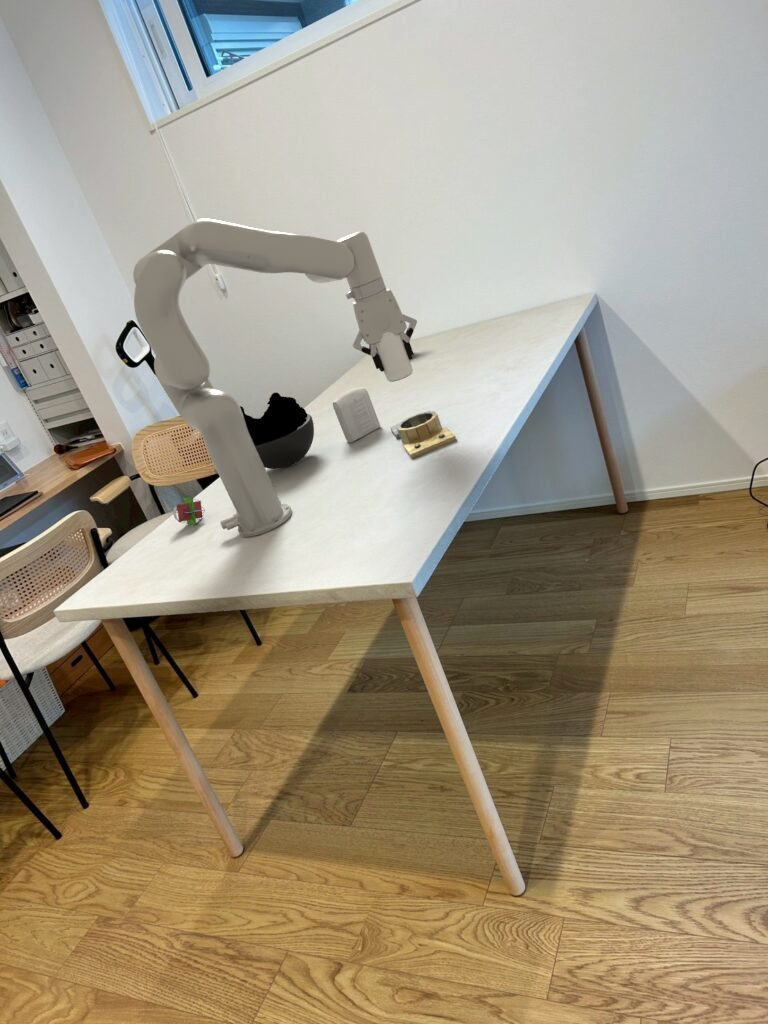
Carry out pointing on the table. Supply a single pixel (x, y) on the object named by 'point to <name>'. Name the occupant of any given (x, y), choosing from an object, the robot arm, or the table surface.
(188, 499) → the geometric puzzle
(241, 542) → the table surface
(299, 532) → the table surface
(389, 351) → the can
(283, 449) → the coal bowl
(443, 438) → the brass ring mounting bracket
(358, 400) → the white engraved tombstone
